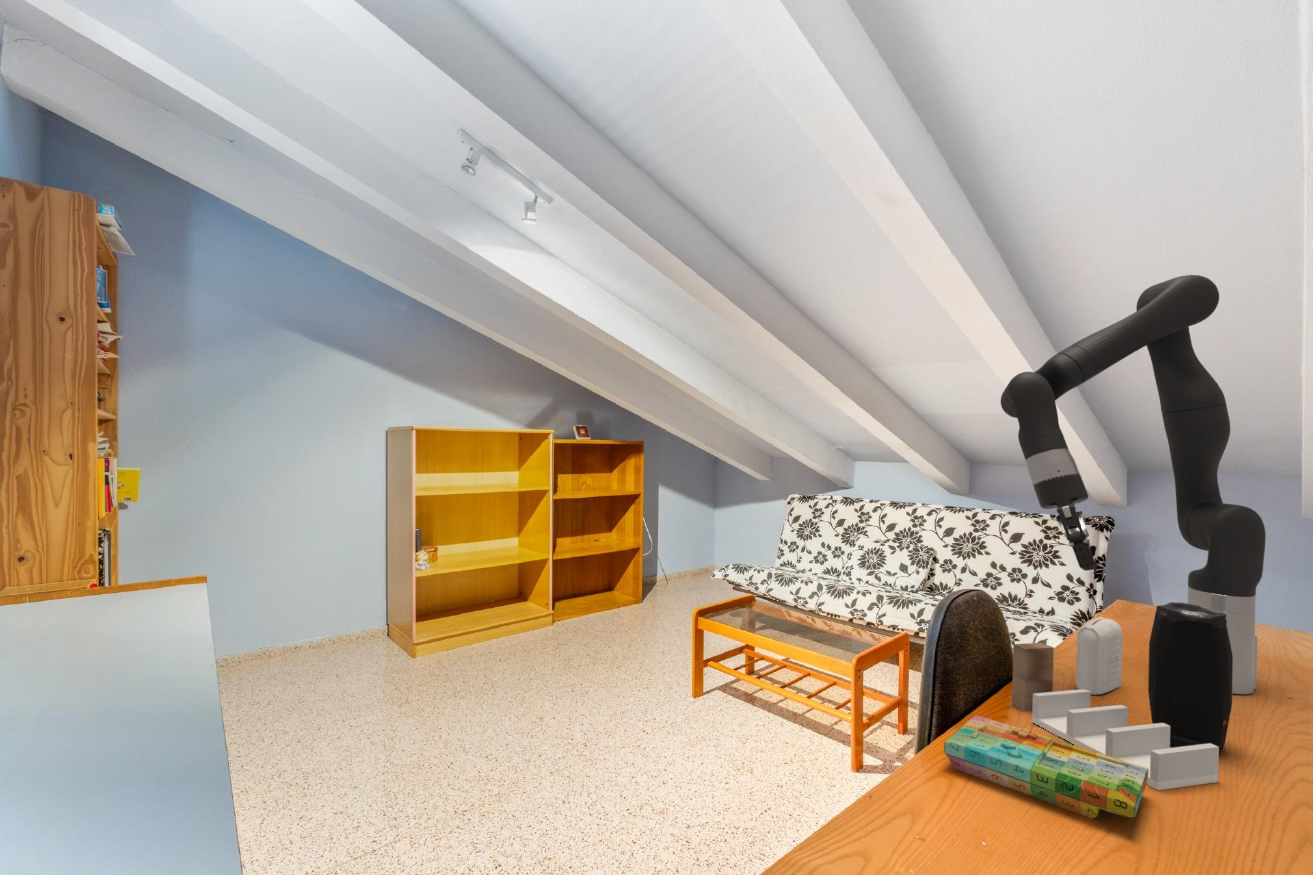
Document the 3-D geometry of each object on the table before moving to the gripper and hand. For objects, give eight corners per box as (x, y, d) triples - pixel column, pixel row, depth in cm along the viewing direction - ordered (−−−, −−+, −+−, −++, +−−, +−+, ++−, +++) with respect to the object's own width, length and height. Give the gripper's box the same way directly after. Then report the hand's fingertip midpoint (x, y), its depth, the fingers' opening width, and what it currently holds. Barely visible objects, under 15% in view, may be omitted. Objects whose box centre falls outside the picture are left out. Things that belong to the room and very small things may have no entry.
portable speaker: (1246, 758, 87) (1250, 617, 87) (1178, 756, 87) (1182, 615, 87) (1194, 729, 96) (1198, 601, 96) (1132, 727, 96) (1136, 599, 96)
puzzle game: (973, 709, 90) (1148, 761, 77) (972, 742, 90) (1147, 799, 76) (944, 735, 82) (1135, 798, 68) (943, 771, 82) (1134, 842, 68)
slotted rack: (1084, 717, 99) (1084, 689, 99) (1218, 782, 80) (1218, 747, 80) (1032, 722, 96) (1032, 693, 96) (1157, 790, 78) (1158, 754, 78)
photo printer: (1097, 678, 116) (1099, 612, 116) (1125, 686, 113) (1126, 617, 113) (1072, 689, 110) (1073, 619, 110) (1099, 698, 107) (1101, 626, 107)
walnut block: (1039, 702, 104) (1040, 642, 104) (1052, 708, 102) (1053, 647, 102) (1012, 705, 103) (1013, 644, 103) (1024, 711, 101) (1025, 649, 101)
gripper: (1077, 466, 105) (1114, 563, 99) (1081, 478, 116) (1115, 566, 111) (1027, 478, 109) (1061, 572, 103) (1036, 489, 120) (1067, 574, 115)
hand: (1089, 569), depth 107 cm, fingers open, 8 cm apart
